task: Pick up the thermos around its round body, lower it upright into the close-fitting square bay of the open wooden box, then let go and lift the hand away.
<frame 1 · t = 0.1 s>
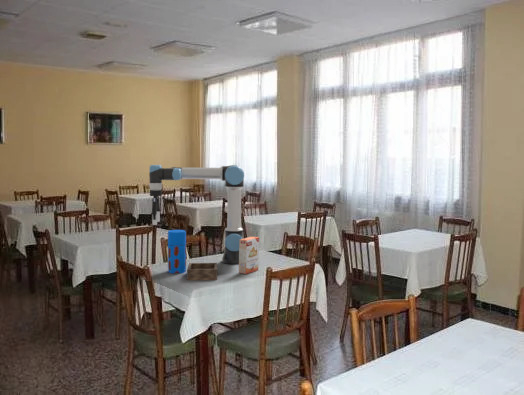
hand: (156, 223, 323), 28 cm above the table, tool pointing down, fingers open, 13 cm apart
cracker box: (249, 271, 316), on the table
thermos: (177, 271, 315), on the table
open wooden box: (202, 276, 304), on the table
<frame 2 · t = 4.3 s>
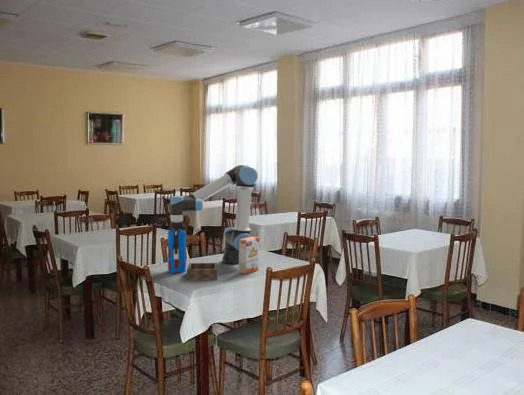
hand: (177, 257, 314), 9 cm above the table, tool pointing down, fingers closed on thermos, 11 cm apart
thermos: (177, 271, 315), on the table, touching gripper
everything else where it was.
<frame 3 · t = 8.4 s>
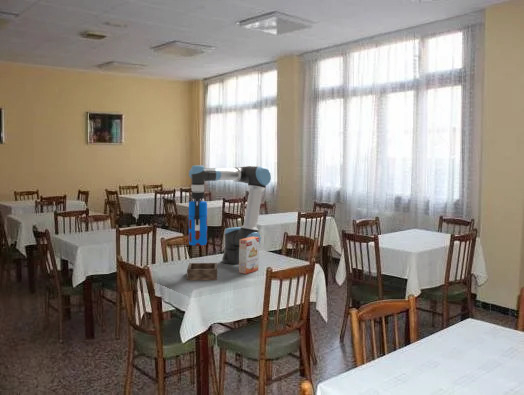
hand: (198, 228, 303), 28 cm above the table, tool pointing down, fingers closed on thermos, 11 cm apart
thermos: (198, 244, 304), point 19 cm above the table, touching gripper
everything else where it was.
when the fingers open (11 cm above the table, at t = 13.0 s): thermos drops 1 cm, resting on open wooden box.
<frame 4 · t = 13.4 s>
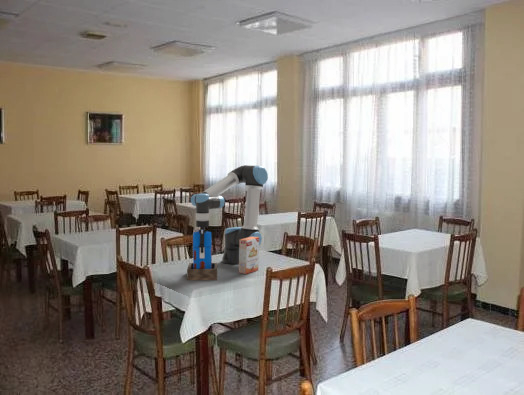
hand: (202, 255, 303), 12 cm above the table, tool pointing down, fingers open, 13 cm apart
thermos: (202, 274, 304), point 1 cm above the table, touching open wooden box
everything else where it was.
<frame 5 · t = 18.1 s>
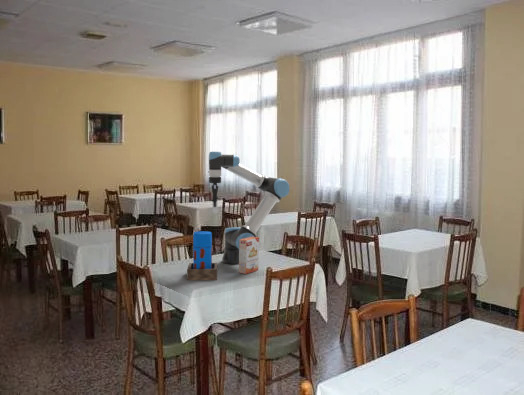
hand: (215, 210, 319), 37 cm above the table, tool pointing down, fingers open, 13 cm apart
nothing on the table moved.
at the end: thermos 0.1 cm off-centre on the open wooden box, point 0.8 cm above the open wooden box's base; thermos tilted 0°; the gripper is holding nothing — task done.
